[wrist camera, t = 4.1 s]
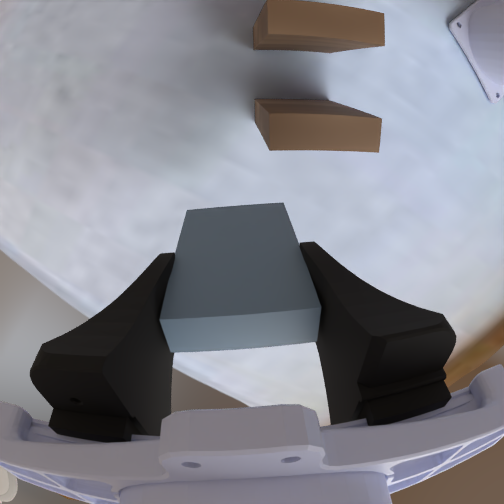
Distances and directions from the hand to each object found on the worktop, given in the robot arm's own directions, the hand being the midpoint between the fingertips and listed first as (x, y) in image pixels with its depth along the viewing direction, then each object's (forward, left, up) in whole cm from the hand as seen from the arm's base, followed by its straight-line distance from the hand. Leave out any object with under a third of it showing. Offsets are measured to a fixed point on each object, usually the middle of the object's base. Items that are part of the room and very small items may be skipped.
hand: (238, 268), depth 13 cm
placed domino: (0, 0, -4) cm, 4 cm away
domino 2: (-6, -1, -10) cm, 12 cm away
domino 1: (-10, -4, -10) cm, 15 cm away
